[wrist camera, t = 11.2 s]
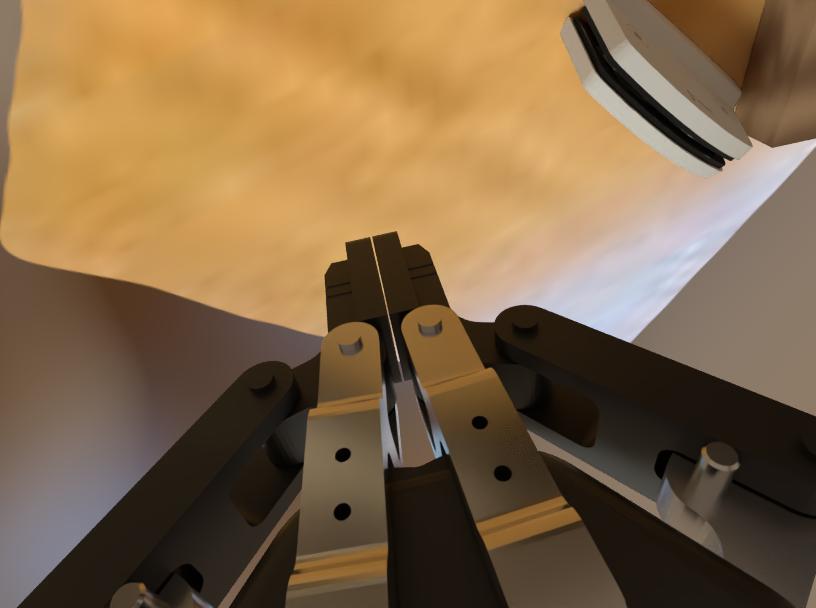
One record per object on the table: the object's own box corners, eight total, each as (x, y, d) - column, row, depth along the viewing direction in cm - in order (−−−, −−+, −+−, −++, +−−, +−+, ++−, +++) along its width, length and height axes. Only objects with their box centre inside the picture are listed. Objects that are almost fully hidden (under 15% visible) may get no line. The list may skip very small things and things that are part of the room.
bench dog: (775, -33, 36) (831, -27, 32) (825, -44, 36) (888, -39, 33) (730, 127, 44) (772, 147, 40) (773, 118, 44) (818, 137, 40)
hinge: (737, 83, 41) (787, 160, 36) (684, 124, 45) (723, 201, 39) (604, -40, 34) (640, 32, 28) (553, 20, 38) (577, 95, 32)
